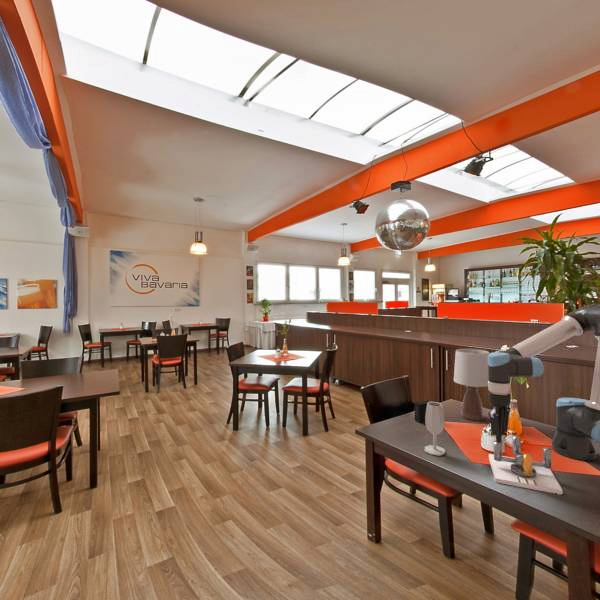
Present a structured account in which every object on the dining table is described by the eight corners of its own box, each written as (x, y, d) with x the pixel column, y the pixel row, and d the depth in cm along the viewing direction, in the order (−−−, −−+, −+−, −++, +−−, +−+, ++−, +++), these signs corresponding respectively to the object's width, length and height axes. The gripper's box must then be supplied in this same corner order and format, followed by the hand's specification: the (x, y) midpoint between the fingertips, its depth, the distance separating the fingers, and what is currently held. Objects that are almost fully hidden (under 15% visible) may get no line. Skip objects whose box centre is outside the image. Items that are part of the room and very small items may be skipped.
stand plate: (546, 466, 132) (546, 462, 132) (562, 494, 113) (562, 489, 113) (488, 457, 140) (488, 453, 140) (495, 482, 121) (495, 477, 121)
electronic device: (414, 420, 181) (414, 402, 181) (429, 418, 184) (429, 400, 184) (419, 423, 177) (419, 404, 177) (435, 420, 180) (434, 402, 180)
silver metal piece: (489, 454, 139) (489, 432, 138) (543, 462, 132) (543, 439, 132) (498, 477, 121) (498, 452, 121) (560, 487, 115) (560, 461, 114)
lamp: (492, 414, 188) (492, 349, 187) (490, 426, 172) (490, 355, 171) (456, 409, 198) (455, 347, 197) (451, 419, 182) (451, 352, 181)
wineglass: (428, 445, 152) (427, 399, 151) (448, 450, 146) (448, 403, 146) (421, 452, 145) (421, 404, 144) (442, 458, 139) (442, 408, 139)
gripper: (497, 387, 138) (498, 443, 138) (481, 392, 131) (482, 452, 131) (517, 391, 132) (518, 450, 132) (501, 397, 125) (502, 459, 125)
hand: (500, 451), depth 132 cm, fingers closed
